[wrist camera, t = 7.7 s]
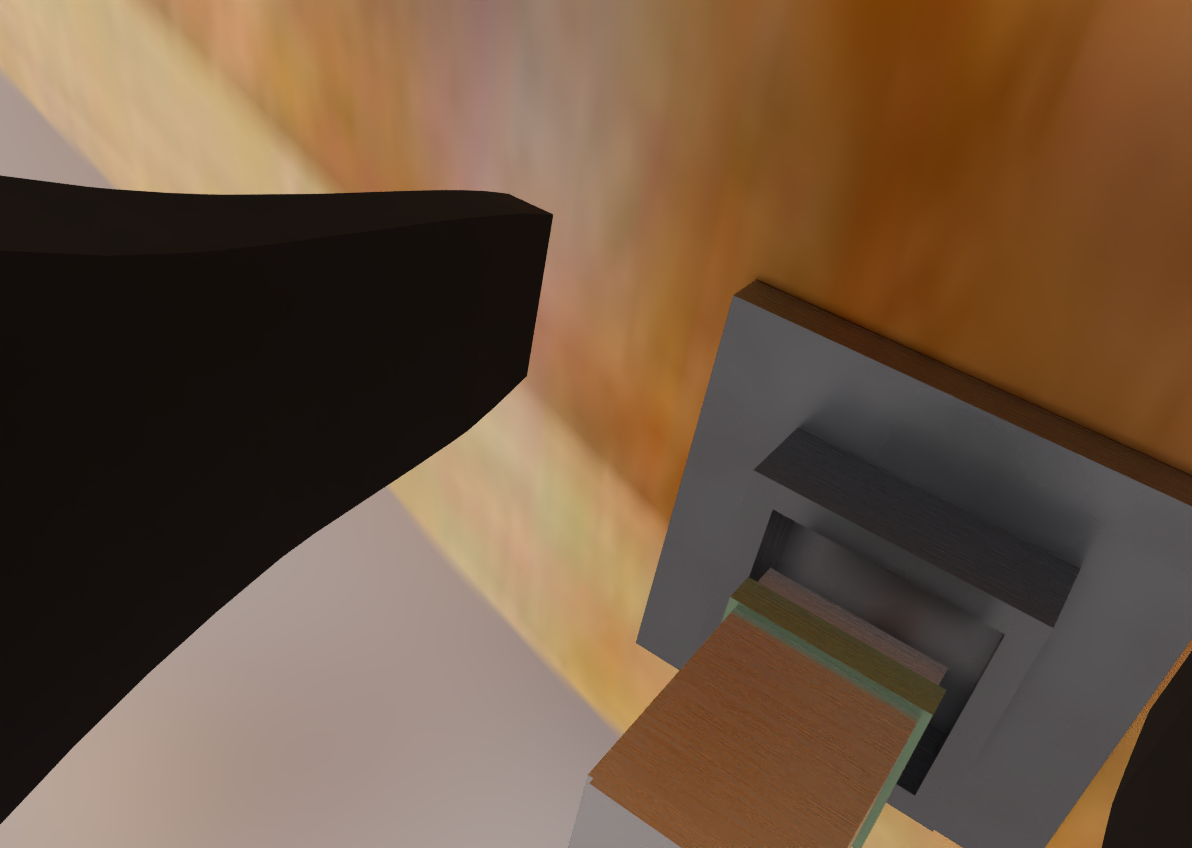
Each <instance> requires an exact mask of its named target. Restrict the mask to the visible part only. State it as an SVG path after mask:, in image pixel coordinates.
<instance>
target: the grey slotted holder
mask: <svg viewBox="0 0 1192 848" xmlns="http://www.w3.org/2000/svg"><path fill="white" fill-rule="evenodd" d="M770 568H772V569H774V570H776V571H777V572H779V573H781V574H783V575H784V576H786V577H788V578H790V579H792V580H793V581H795V582H797V583H799V584H800V585H802V586H804V587H806V588H808V589H809V590H811V591H813V592H815V593H816V594H818V595H820V596H822V597H824V598H825V599H827V600H829V601H831V602H832V603H834V604H836V605H838V606H840V607H841V608H843V609H845V610H847V611H848V612H850V613H852V614H854V615H856V616H857V617H859V618H861V619H863V620H864V621H866V622H868V623H870V624H872V625H873V626H875V627H877V628H879V629H880V630H882V631H884V632H886V633H888V634H889V635H891V636H893V637H895V638H896V639H898V640H900V641H902V642H904V643H905V644H907V645H909V646H911V647H912V648H914V649H916V650H918V651H920V652H921V653H923V654H925V655H927V656H928V657H930V658H932V659H934V660H936V661H937V662H939V663H941V664H943V665H944V666H946V667H948V669H947V671H946V673H945V675H944V677H943V678H942V680H941V682H940V684H939V686H940V687H942V688H944V689H946V692H945V694H944V696H943V698H942V700H941V701H940V703H939V705H938V707H937V709H936V711H935V713H934V714H933V716H932V718H931V720H930V722H929V724H928V726H927V727H926V729H925V731H924V733H923V735H922V737H921V739H920V740H919V742H918V744H917V746H916V748H915V750H914V752H913V753H912V755H911V757H910V759H909V761H908V763H907V764H906V766H905V768H904V770H903V772H902V774H901V776H900V777H899V779H898V781H897V783H896V785H895V787H894V789H893V790H892V792H891V794H890V796H889V798H888V800H887V802H886V803H888V804H890V805H891V806H893V807H894V808H896V809H898V810H899V811H901V812H902V813H904V814H906V815H907V816H909V817H910V818H912V819H914V820H915V821H917V822H918V823H920V824H922V825H923V826H925V827H926V828H928V829H929V830H931V831H933V830H936V831H937V832H939V833H940V834H942V835H944V836H945V837H947V838H948V839H950V840H952V841H953V842H955V843H956V844H958V845H960V846H961V847H963V848H1045V846H1046V845H1047V843H1048V842H1049V841H1050V839H1051V838H1052V836H1053V835H1054V833H1055V832H1056V831H1057V829H1058V828H1059V826H1060V825H1061V823H1062V822H1063V821H1064V819H1065V818H1066V816H1067V815H1068V814H1069V812H1070V811H1071V809H1072V808H1073V806H1074V805H1075V804H1076V802H1077V801H1078V799H1079V798H1080V797H1081V795H1082V794H1083V792H1084V791H1085V789H1086V788H1087V787H1088V785H1089V784H1090V782H1091V781H1092V780H1093V778H1094V777H1095V775H1096V774H1097V772H1098V771H1099V770H1100V768H1101V767H1102V765H1103V764H1104V763H1105V761H1106V760H1107V758H1108V757H1109V755H1110V754H1111V753H1112V751H1113V750H1114V748H1115V747H1116V746H1117V744H1118V743H1119V741H1120V740H1121V738H1122V737H1123V736H1124V734H1125V733H1126V731H1127V730H1128V728H1129V727H1130V726H1131V724H1132V723H1133V721H1134V720H1135V719H1136V717H1137V716H1138V714H1139V713H1140V711H1141V710H1142V709H1143V707H1144V706H1145V704H1146V703H1147V702H1148V700H1149V699H1150V697H1151V696H1152V694H1153V693H1154V692H1155V690H1156V689H1157V687H1158V686H1159V685H1160V683H1161V682H1162V680H1163V679H1164V677H1165V676H1166V675H1167V673H1168V672H1169V670H1170V669H1171V668H1172V666H1173V665H1174V663H1175V662H1176V660H1177V659H1178V658H1179V656H1180V655H1181V653H1182V652H1183V651H1184V649H1185V648H1186V646H1187V645H1188V643H1189V642H1190V641H1191V639H1192V476H1190V475H1188V474H1186V473H1183V472H1181V471H1179V470H1177V469H1175V468H1172V467H1170V466H1168V465H1166V464H1163V463H1161V462H1159V461H1157V460H1155V459H1152V458H1150V457H1148V456H1146V455H1143V454H1141V453H1139V452H1137V451H1135V450H1132V449H1130V448H1128V447H1126V446H1124V445H1121V444H1119V443H1117V442H1115V441H1112V440H1110V439H1108V438H1106V437H1104V436H1101V435H1099V434H1097V433H1095V432H1092V431H1090V430H1088V429H1086V428H1084V427H1081V426H1079V425H1077V424H1075V423H1072V422H1070V421H1068V420H1066V419H1064V418H1061V417H1059V416H1057V415H1055V414H1052V413H1050V412H1048V411H1046V410H1044V409H1041V408H1039V407H1037V406H1035V405H1032V404H1030V403H1028V402H1026V401H1024V400H1021V399H1019V398H1017V397H1015V396H1012V395H1010V394H1008V393H1006V392H1004V391H1001V390H999V389H997V388H995V387H992V386H990V385H988V384H986V383H984V382H981V381H979V380H977V379H975V378H972V377H970V376H968V375H966V374H964V373H961V372H959V371H957V370H955V369H952V368H950V367H948V366H946V365H944V364H941V363H939V362H937V361H935V360H933V359H930V358H928V357H926V356H924V355H921V354H919V353H917V352H915V351H913V350H910V349H908V348H906V347H904V346H901V345H899V344H897V343H895V342H893V341H890V340H888V339H886V338H884V337H881V336H879V335H877V334H875V333H873V332H870V331H868V330H866V329H864V328H861V327H859V326H857V325H855V324H853V323H850V322H848V321H846V320H844V319H841V318H839V317H837V316H835V315H833V314H830V313H828V312H826V311H824V310H821V309H819V308H817V307H815V306H813V305H810V304H808V303H806V302H804V301H801V300H799V299H797V298H795V297H793V296H790V295H788V294H786V293H784V292H781V291H779V290H777V289H775V288H773V287H770V286H768V285H766V284H764V283H761V282H759V281H757V280H755V281H754V282H752V283H751V284H749V285H748V286H746V287H745V288H744V289H742V290H741V291H739V292H738V293H736V294H735V295H733V299H732V302H731V306H730V309H729V313H728V317H727V320H726V324H725V327H724V331H723V334H722V338H721V341H720V345H719V349H718V352H717V356H716V359H715V363H714V366H713V370H712V374H711V377H710V381H709V384H708V388H707V391H706V395H705V398H704V402H703V406H702V409H701V413H700V416H699V420H698V423H697V427H696V431H695V434H694V438H693V441H692V445H691V448H690V452H689V455H688V459H687V463H686V466H685V470H684V473H683V477H682V480H681V484H680V487H679V491H678V495H677V498H676V502H675V505H674V509H673V512H672V516H671V520H670V523H669V527H668V530H667V534H666V537H665V541H664V544H663V548H662V552H661V555H660V559H659V562H658V566H657V569H656V573H655V577H654V580H653V584H652V587H651V591H650V594H649V598H648V601H647V605H646V609H645V612H644V616H643V619H642V623H641V626H640V630H639V634H638V637H637V641H636V643H637V644H639V645H640V646H642V647H643V648H645V649H647V650H648V651H650V652H651V653H653V654H655V655H656V656H658V657H659V658H661V659H663V660H664V661H666V662H667V663H669V664H671V665H672V666H674V667H675V668H677V669H678V670H681V668H682V667H683V666H684V665H685V664H686V663H687V662H688V660H689V659H690V658H691V657H692V656H693V655H694V654H695V653H696V651H697V650H698V649H699V648H700V647H701V646H702V645H703V643H704V642H705V641H706V640H707V639H708V638H709V637H710V636H711V634H712V633H713V632H714V631H715V630H716V629H717V628H718V626H719V625H720V624H721V622H722V619H723V616H724V613H725V610H726V607H727V604H728V601H729V599H730V596H731V595H732V594H733V593H734V592H735V591H736V590H737V589H738V587H739V586H740V585H741V584H742V583H743V582H744V581H745V580H746V579H747V577H750V578H751V579H753V580H755V581H757V582H758V581H759V580H760V579H761V578H762V576H763V575H764V574H765V573H766V572H767V571H768V570H769V569H770Z"/></svg>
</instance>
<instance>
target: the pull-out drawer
mask: <svg viewBox="0 0 1192 848" xmlns="http://www.w3.org/2000/svg"><path fill="white" fill-rule="evenodd" d="M947 669H948V667H946V666H944V665H943V664H941V663H939V662H937V661H936V660H934V659H932V658H930V657H928V656H927V655H925V654H923V653H921V652H920V651H918V650H916V649H914V648H912V647H911V646H909V645H907V644H905V643H904V642H902V641H900V640H898V639H896V638H895V637H893V636H891V635H889V634H888V633H886V632H884V631H882V630H880V629H879V628H877V627H875V626H873V625H872V624H870V623H868V622H866V621H864V620H863V619H861V618H859V617H857V616H856V615H854V614H852V613H850V612H848V611H847V610H845V609H843V608H841V607H840V606H838V605H836V604H834V603H832V602H831V601H829V600H827V599H825V598H824V597H822V596H820V595H818V594H816V593H815V592H813V591H811V590H809V589H808V588H806V587H804V586H802V585H800V584H799V583H797V582H795V581H793V580H792V579H790V578H788V577H786V576H784V575H783V574H781V573H779V572H777V571H776V570H774V569H772V568H770V569H769V570H768V571H767V572H766V573H765V574H764V575H763V576H762V578H761V579H760V580H759V581H758V582H757V581H755V580H753V579H751V578H750V577H747V579H746V580H745V581H744V582H743V583H742V584H741V585H740V586H739V587H738V589H737V590H736V591H735V592H734V593H733V594H732V595H731V596H730V599H729V601H728V604H727V607H726V610H725V613H724V616H723V619H722V622H721V624H720V625H719V626H718V628H717V629H716V630H715V631H714V632H713V633H712V634H711V636H710V637H709V638H708V639H707V640H706V641H705V642H704V643H703V645H702V646H701V647H700V648H699V649H698V650H697V651H696V653H695V654H694V655H693V656H692V657H691V658H690V659H689V660H688V662H687V663H686V664H685V665H684V666H683V667H682V668H681V670H680V671H679V672H678V673H677V674H676V675H675V676H674V678H673V679H672V680H671V681H670V682H669V683H668V684H667V685H666V687H665V688H664V689H663V690H662V691H661V692H660V693H659V695H658V696H657V697H656V698H655V699H654V700H653V701H652V703H651V704H650V705H649V706H648V707H647V708H646V709H645V710H644V712H643V713H642V714H641V715H640V716H639V717H638V718H637V720H636V721H635V722H634V723H633V724H632V725H631V726H630V727H629V729H628V730H627V731H626V732H625V733H624V734H623V735H622V737H621V738H620V739H619V740H618V741H617V742H616V743H615V745H614V746H613V747H612V748H611V749H610V750H609V751H608V753H607V754H606V755H605V756H604V757H603V758H602V759H601V760H600V762H599V763H598V764H597V765H596V766H595V767H594V768H593V770H592V771H591V772H590V773H589V774H588V776H587V780H586V784H585V787H584V791H583V795H582V799H581V803H580V806H579V810H578V814H577V817H576V821H575V824H574V828H573V832H572V836H571V839H570V843H569V846H568V848H851V847H854V848H862V846H863V844H864V842H865V840H866V839H867V837H868V835H869V833H870V831H871V829H872V828H873V826H874V824H875V822H876V820H877V818H878V816H879V815H880V813H881V811H882V809H883V807H884V805H885V803H886V802H887V800H888V798H889V796H890V794H891V792H892V790H893V789H894V787H895V785H896V783H897V781H898V779H899V777H900V776H901V774H902V772H903V770H904V768H905V766H906V764H907V763H908V761H909V759H910V757H911V755H912V753H913V752H914V750H915V748H916V746H917V744H918V742H919V740H920V739H921V737H922V735H923V733H924V731H925V729H926V727H927V726H928V724H929V722H930V720H931V718H932V716H933V714H934V713H935V711H936V709H937V707H938V705H939V703H940V701H941V700H942V698H943V696H944V694H945V692H946V689H944V688H942V687H940V686H939V684H940V682H941V680H942V678H943V677H944V675H945V673H946V671H947Z"/></svg>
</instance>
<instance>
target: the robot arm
mask: <svg viewBox="0 0 1192 848" xmlns="http://www.w3.org/2000/svg"><path fill="white" fill-rule="evenodd" d="M552 219H553V214H551V213H549V212H547V211H544V210H542V209H540V208H538V207H536V206H534V205H531V204H529V203H527V202H525V201H523V200H521V199H518V198H516V197H514V196H512V195H510V194H505V193H497V192H488V191H467V190H430V191H393V192H364V193H335V194H263V195H208V194H179V193H160V192H145V191H131V190H116V189H104V188H94V187H84V186H76V185H69V184H60V183H54V182H45V181H37V180H30V179H22V178H14V177H7V176H0V824H1V823H2V822H3V821H4V820H5V819H6V818H7V817H8V816H9V815H10V813H11V812H12V811H13V810H14V809H15V808H16V807H17V806H18V805H19V804H20V803H21V802H22V801H23V800H24V798H25V797H27V796H28V794H29V793H30V792H31V791H32V790H33V789H34V788H35V787H36V786H37V785H38V784H39V783H40V782H41V781H42V780H43V779H44V777H45V776H46V775H47V774H48V773H49V772H50V771H51V770H52V769H53V768H54V767H55V766H56V764H58V763H59V761H60V760H61V759H62V758H63V757H64V756H65V755H66V754H67V753H68V752H69V751H70V750H71V749H72V748H73V747H74V746H75V745H76V744H77V743H78V742H79V741H80V740H81V739H82V738H83V737H84V736H85V735H86V734H87V733H88V732H89V731H90V730H91V729H92V728H93V727H94V726H95V725H96V724H97V723H98V722H99V721H100V720H101V719H102V718H103V717H104V716H105V715H106V714H107V713H108V712H109V711H110V710H112V709H113V708H114V707H115V706H116V705H117V704H118V703H119V702H120V701H121V700H122V699H123V698H124V697H125V696H126V695H127V694H128V693H129V692H130V691H131V690H132V689H133V688H134V687H135V686H136V685H137V684H138V683H139V682H140V681H141V680H142V679H143V678H144V677H145V676H146V675H147V674H148V673H149V672H151V671H152V670H153V669H154V668H155V667H156V666H157V665H158V664H159V663H160V662H162V661H163V660H164V659H165V658H166V657H167V656H168V655H169V654H170V653H172V652H173V651H174V650H175V649H176V648H177V647H178V646H179V645H180V644H182V642H184V641H185V640H186V639H187V638H188V637H189V636H190V635H192V634H193V633H194V632H195V631H196V630H197V629H198V628H199V627H200V626H201V625H203V624H204V623H205V622H206V621H207V620H208V619H209V618H210V617H211V616H212V615H214V614H215V613H216V612H217V611H218V610H219V609H221V608H222V607H223V606H224V605H225V604H226V603H228V602H229V601H230V600H231V599H233V598H234V597H235V596H236V595H237V594H238V593H240V592H241V591H242V590H243V589H244V588H246V587H247V586H248V585H249V584H250V583H251V582H253V581H254V580H255V579H256V578H257V577H259V576H260V575H261V574H262V573H263V572H265V571H266V570H267V569H268V568H269V567H271V566H272V565H273V564H274V563H275V562H277V561H278V560H279V559H280V558H282V557H283V556H284V555H286V554H287V553H288V552H290V551H291V550H292V549H294V548H295V547H297V546H298V545H299V544H301V543H302V542H303V541H305V540H306V539H307V538H309V537H310V536H312V535H313V534H314V533H316V532H317V531H319V530H320V529H322V528H323V527H325V526H327V525H328V524H329V523H331V522H332V521H334V520H336V519H337V518H339V517H340V516H342V515H343V514H344V513H346V512H348V511H349V510H351V509H352V508H353V507H355V506H357V505H358V504H360V503H361V502H363V501H364V500H366V499H367V498H369V497H370V496H372V495H373V494H375V493H376V492H378V491H379V490H381V489H382V488H384V487H385V486H387V485H389V484H390V483H392V482H393V481H395V480H396V479H398V478H399V477H401V476H402V475H404V474H405V473H407V472H408V471H410V470H411V469H413V468H414V467H416V466H417V465H419V464H420V463H422V462H423V461H425V460H426V459H427V458H429V457H430V456H432V455H433V454H435V453H436V452H438V451H439V450H441V449H442V448H444V447H445V446H447V445H448V444H450V443H451V442H452V441H454V440H455V439H457V438H458V437H459V436H461V435H462V434H464V433H465V432H467V431H468V430H469V429H470V428H471V427H472V426H474V425H475V424H476V423H477V422H478V421H479V420H480V419H482V418H483V417H484V416H485V415H486V414H487V413H488V412H489V411H491V410H492V409H493V408H494V407H495V406H496V405H497V404H498V403H499V402H500V401H501V400H502V399H503V398H504V397H505V396H507V395H508V394H509V393H510V392H511V391H512V390H513V389H514V388H515V387H516V386H517V385H518V384H519V383H520V382H521V381H522V380H523V379H524V378H525V377H526V376H527V372H528V365H529V359H530V353H531V347H532V341H533V335H534V329H535V323H536V317H537V310H538V304H539V298H540V292H541V286H542V280H543V274H544V268H545V262H546V255H547V249H548V243H549V237H550V231H551V225H552ZM1102 848H1192V652H1191V653H1190V654H1189V656H1188V657H1187V659H1186V660H1185V662H1184V663H1183V664H1182V666H1181V667H1180V669H1179V670H1178V671H1177V673H1176V674H1175V676H1174V677H1173V678H1172V680H1171V681H1170V683H1169V684H1168V685H1167V687H1166V688H1165V690H1164V691H1163V692H1162V694H1161V695H1160V697H1159V698H1158V699H1157V701H1156V702H1155V704H1154V705H1153V706H1152V708H1151V709H1150V711H1149V713H1148V715H1147V718H1146V720H1145V723H1144V725H1143V728H1142V730H1141V733H1140V735H1139V737H1138V740H1137V742H1136V745H1135V747H1134V750H1133V752H1132V755H1131V757H1130V760H1129V762H1128V765H1127V767H1126V770H1125V772H1124V775H1123V777H1122V780H1121V783H1120V785H1119V788H1118V790H1117V793H1116V796H1115V798H1114V801H1113V803H1112V807H1111V811H1110V815H1109V820H1108V824H1107V828H1106V832H1105V836H1104V840H1103V845H1102Z"/></svg>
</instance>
